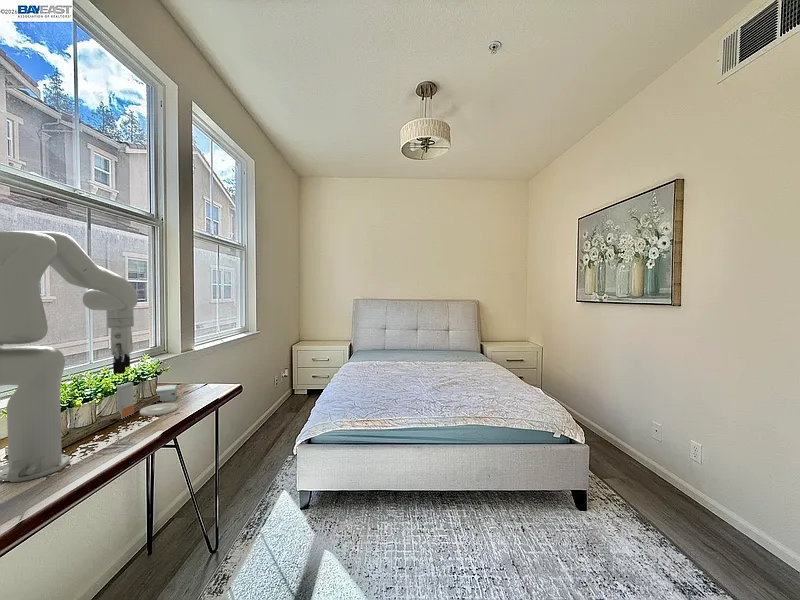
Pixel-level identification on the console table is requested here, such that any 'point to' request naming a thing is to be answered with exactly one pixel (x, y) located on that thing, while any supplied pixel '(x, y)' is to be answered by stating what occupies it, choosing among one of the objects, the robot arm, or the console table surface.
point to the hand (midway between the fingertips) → (122, 370)
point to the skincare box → (125, 399)
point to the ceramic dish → (158, 409)
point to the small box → (167, 392)
